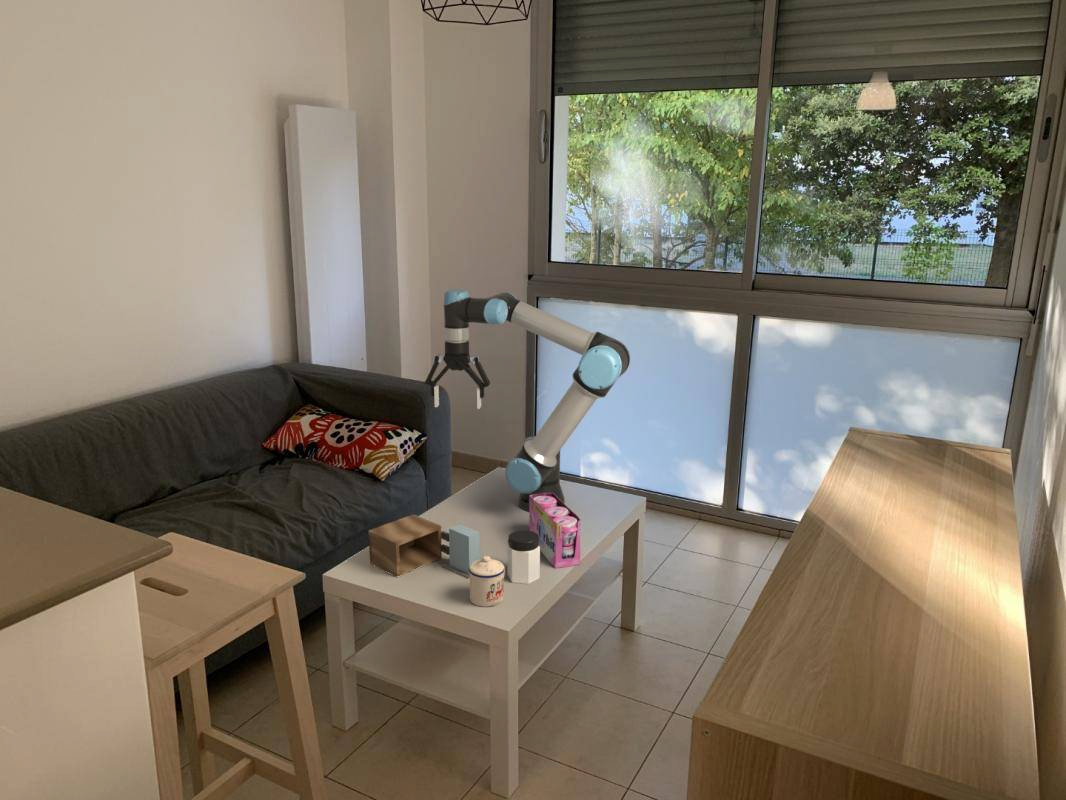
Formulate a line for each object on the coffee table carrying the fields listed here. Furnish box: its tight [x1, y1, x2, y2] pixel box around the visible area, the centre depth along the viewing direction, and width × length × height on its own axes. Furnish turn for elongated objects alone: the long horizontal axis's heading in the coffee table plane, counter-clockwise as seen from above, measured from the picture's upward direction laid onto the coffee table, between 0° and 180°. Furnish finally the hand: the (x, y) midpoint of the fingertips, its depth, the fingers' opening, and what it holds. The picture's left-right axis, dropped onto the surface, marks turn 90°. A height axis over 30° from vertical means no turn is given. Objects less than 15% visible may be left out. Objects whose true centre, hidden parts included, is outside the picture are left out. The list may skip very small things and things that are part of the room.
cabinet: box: [368, 513, 470, 579], centre depth 227 cm, size 20×26×10 cm
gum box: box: [528, 492, 582, 569], centre depth 237 cm, size 24×8×14 cm, turn 19°
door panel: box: [448, 523, 481, 574], centre depth 226 cm, size 8×4×11 cm, turn 47°
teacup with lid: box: [469, 555, 506, 608], centre depth 210 cm, size 12×9×12 cm
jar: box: [506, 529, 541, 585], centre depth 221 cm, size 9×8×12 cm
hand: (457, 407), depth 259 cm, fingers open, 13 cm apart
